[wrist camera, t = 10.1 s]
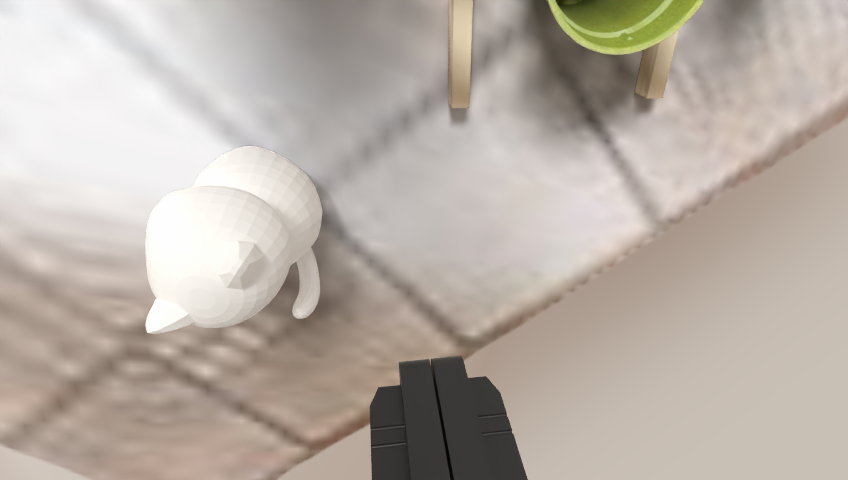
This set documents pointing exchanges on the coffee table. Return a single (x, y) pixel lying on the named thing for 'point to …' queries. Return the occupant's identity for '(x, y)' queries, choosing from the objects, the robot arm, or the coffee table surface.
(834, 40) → the coffee table surface
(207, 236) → the cat figurine
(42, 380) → the coffee table surface
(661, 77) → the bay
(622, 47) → the plant pot
